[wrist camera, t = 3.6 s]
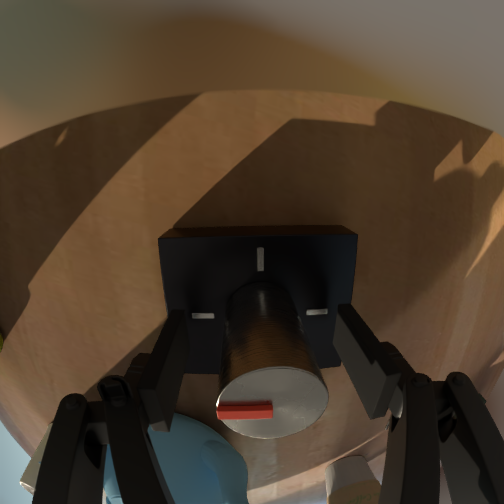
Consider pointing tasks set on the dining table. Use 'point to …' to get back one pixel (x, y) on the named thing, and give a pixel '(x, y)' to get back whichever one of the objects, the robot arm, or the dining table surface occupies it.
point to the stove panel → (257, 280)
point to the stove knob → (267, 366)
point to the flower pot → (1, 342)
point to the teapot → (191, 465)
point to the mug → (34, 465)
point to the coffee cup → (351, 482)
